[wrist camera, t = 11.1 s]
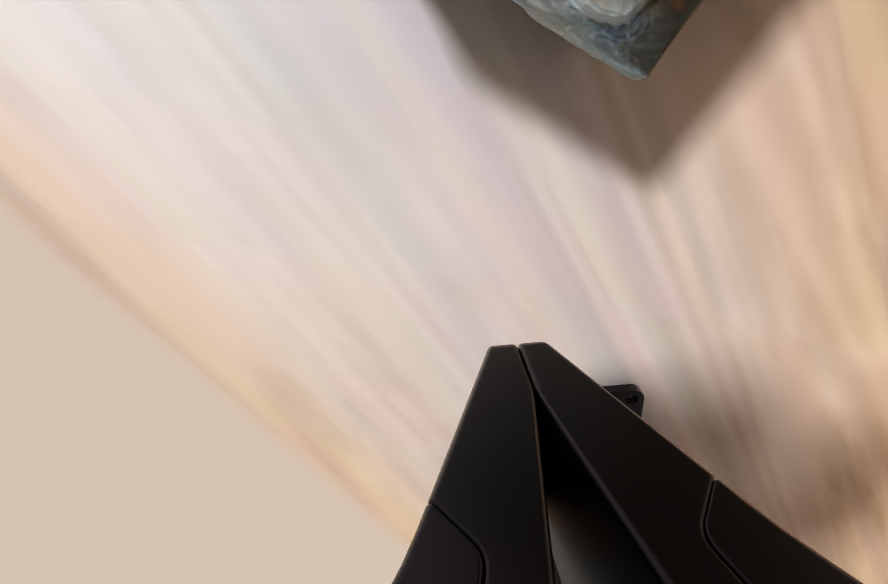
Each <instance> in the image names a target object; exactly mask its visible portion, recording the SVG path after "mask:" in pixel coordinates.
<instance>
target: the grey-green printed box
mask: <svg viewBox="0 0 888 584" xmlns="http://www.w3.org/2000/svg"><path fill="white" fill-rule="evenodd" d="M512 1H514V2H515V3H517V4H518V5H520V6H521V7H522V8H523V9H524V10H525V11H526V12H527V14H528V15H529V16H530V17H532V18H533V19H534V20H535V21H537V22H538V23H539V24H541V25H543V26H544V27H546V28H548V29H550V30H552V31H553V32H555V33H556V34H558V35H559V36H561V37H562V38H564V39H565V40H567V41H568V42H570V43H571V44H573V45H574V46H576V47H578V48H580V49H581V50H583V51H585V52H586V53H588V54H589V55H590V56H592V57H593V58H595V59H597V60H599V61H602V62H604V63H606V64H607V65H609V66H610V67H612V68H613V69H614V70H616V71H617V72H619V73H620V74H622V75H623V76H626V77H628V78H631V79H633V80H638V81H639V80H642V79H645V78H647V77H648V76H649V75H650V73H651V72H652V70H653V68H654V67H655V65H656V64H657V62H658V61H659V59H660V58H661V56H662V55H663V53H664V52H665V51H666V49H667V48H668V46H669V45H670V44H671V42H672V41H673V39H674V38H675V37H676V35H677V34H678V32H679V31H680V30H681V28H682V27H683V26H684V25H685V23H686V22H687V21H688V19H689V18H690V17H691V15H692V14H693V13H694V12H695V10H696V9H697V8H698V6H699V5H700V4H701V2H702V1H703V0H512Z"/></svg>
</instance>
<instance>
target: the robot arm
mask: <svg viewBox="0 0 888 584" xmlns="http://www.w3.org/2000/svg"><path fill="white" fill-rule="evenodd" d="M630 395H634V396H632V397H630V398H627V397H629V396H630ZM643 401H644V396H643V394H642V392H641V390H640V388H639V387H638V386H636V385H633V384H627V385H615V386H604V387H602V386H600V385H599V384H598V383H596V382H595V381H594V380H593V379H591V378H590V377H589V376H588V375H586V374H585V373H584V372H583V371H581V370H580V369H579V368H578V367H576V366H575V365H574V364H573V363H571V362H570V361H569V360H567V359H566V358H565V357H564V356H562V355H561V354H560V353H559V352H557V351H556V350H555V349H554V348H552V347H551V346H550V345H549V344H547V343H545V342H534V343H523V344H520V345H519V346H518V348H517V346H515V345H512V344H511V345H499V346H491V347H489V349H488V350H487V353H486V355H485V358H484V361H483V363H482V366H481V368H480V371H479V373H478V376H477V379H476V381H475V384H474V386H473V389H472V391H471V394H470V396H469V399H468V402H467V404H466V407H465V409H464V412H463V414H462V417H461V420H460V422H459V425H458V427H457V430H456V432H455V435H454V437H453V440H452V443H451V445H450V448H449V450H448V453H447V455H446V458H445V460H444V463H443V466H442V468H441V471H440V473H439V476H438V478H437V481H436V484H435V486H434V489H433V491H432V494H431V496H430V499H429V502H428V504H429V505H428V506H426V508H425V511H424V513H423V516H422V518H421V521H420V524H419V526H418V529H417V531H416V533H415V536H414V538H413V540H412V542H411V545H410V547H409V549H408V552H407V554H406V556H405V559H404V561H403V563H402V565H401V567H400V569H399V571H398V573H397V575H396V577H395V579H394V581H393V583H392V584H863V583H862V582H860V581H859V580H857V579H856V578H854V577H853V576H851V575H850V574H848V573H847V572H845V571H844V570H842V569H841V568H839V567H838V566H836V565H835V564H833V563H832V562H830V561H829V560H827V559H826V558H824V557H823V556H822V555H820V554H819V553H817V552H816V551H814V550H813V549H811V548H810V547H809V546H807V545H806V544H804V543H803V542H801V541H800V540H799V539H797V538H796V537H794V536H793V535H791V534H790V533H788V532H787V531H786V530H784V529H783V528H781V527H780V526H779V525H777V524H776V523H775V522H773V521H772V520H771V519H770V518H768V517H767V516H766V515H764V514H763V513H762V512H760V511H759V510H758V509H756V508H755V507H754V506H752V505H751V504H750V503H748V502H747V501H746V500H744V499H743V498H742V497H741V496H739V495H738V494H737V493H736V492H734V491H733V490H732V489H730V488H729V487H728V486H727V485H725V484H724V483H723V482H722V481H720V480H718V479H716V480H714V476H713V475H712V474H711V473H710V472H709V471H707V470H706V469H705V468H704V467H702V466H701V465H700V464H699V463H697V462H696V461H695V460H694V459H692V458H691V457H690V456H689V455H687V454H686V453H685V452H683V451H682V450H681V449H680V448H678V447H677V446H676V445H675V444H673V443H672V442H671V441H670V440H668V439H667V438H666V437H665V436H663V435H662V434H661V433H660V432H658V431H657V430H656V429H654V428H653V427H652V426H651V425H649V424H648V423H647V422H646V421H644V420H643V419H642V418H641V414H642V408H643Z"/></svg>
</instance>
